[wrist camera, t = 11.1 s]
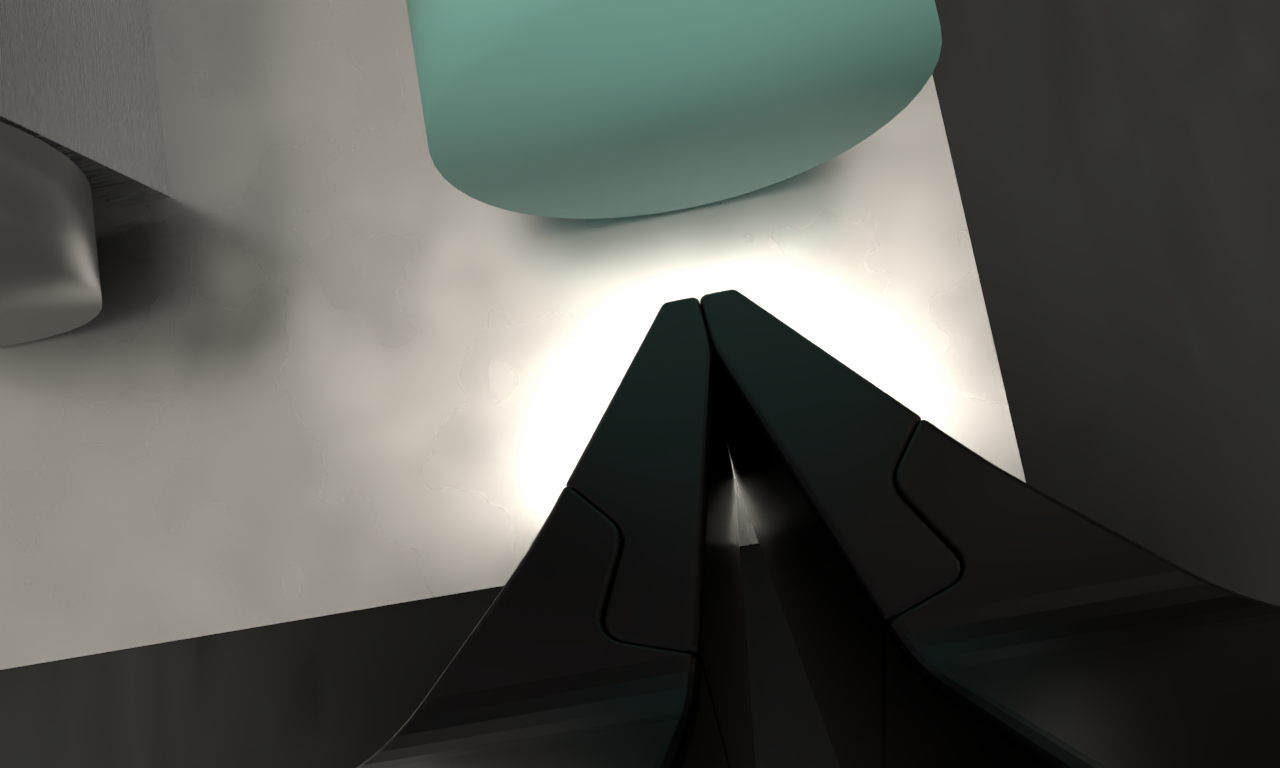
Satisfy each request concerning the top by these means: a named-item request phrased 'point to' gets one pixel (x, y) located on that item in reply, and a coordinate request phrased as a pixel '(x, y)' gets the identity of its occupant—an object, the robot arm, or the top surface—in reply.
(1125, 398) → the top surface
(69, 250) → the dark grey rounded piece
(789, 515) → the robot arm
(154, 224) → the mount
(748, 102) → the teal knob
